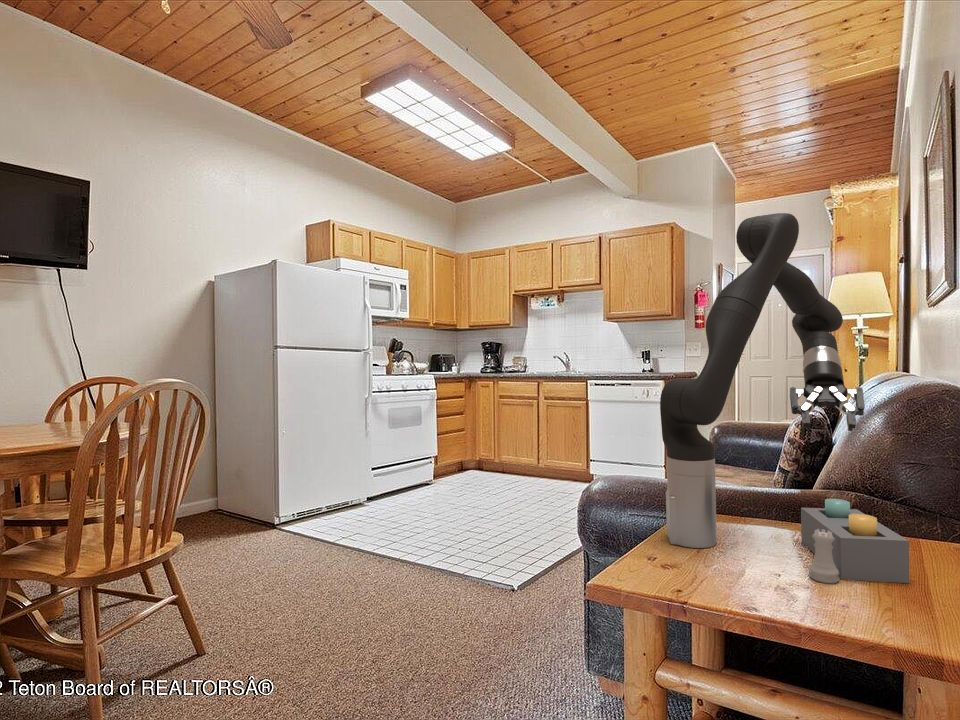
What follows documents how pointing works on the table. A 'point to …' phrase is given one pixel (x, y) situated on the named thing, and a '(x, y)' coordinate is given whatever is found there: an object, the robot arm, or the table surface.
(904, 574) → the console
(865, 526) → the amber button
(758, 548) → the table surface
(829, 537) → the rook chess piece
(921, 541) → the table surface
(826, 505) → the teal button
